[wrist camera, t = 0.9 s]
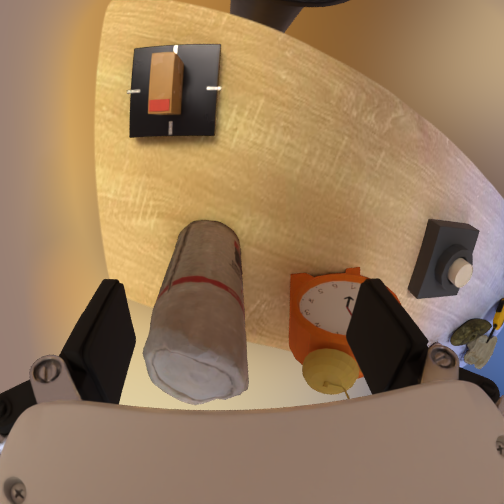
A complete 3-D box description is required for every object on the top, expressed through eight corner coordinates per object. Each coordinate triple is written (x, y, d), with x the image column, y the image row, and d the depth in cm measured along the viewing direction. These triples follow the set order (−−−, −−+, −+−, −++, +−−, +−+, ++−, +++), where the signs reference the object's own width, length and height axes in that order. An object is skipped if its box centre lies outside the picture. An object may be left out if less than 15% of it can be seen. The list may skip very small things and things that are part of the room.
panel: (137, 53, 24) (130, 48, 22) (224, 49, 25) (224, 43, 23) (133, 136, 28) (125, 138, 26) (218, 134, 29) (218, 136, 27)
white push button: (452, 257, 34) (460, 264, 32) (468, 257, 34) (476, 263, 33) (443, 281, 36) (451, 288, 34) (459, 280, 36) (467, 287, 34)
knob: (164, 64, 23) (151, 52, 18) (184, 63, 23) (174, 50, 18) (161, 114, 26) (147, 113, 20) (180, 114, 26) (170, 112, 21)
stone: (460, 365, 51) (483, 330, 48) (453, 358, 53) (476, 324, 51) (482, 370, 54) (502, 340, 51) (476, 365, 57) (496, 335, 54)
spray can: (227, 288, 38) (233, 421, 20) (167, 268, 36) (130, 398, 18) (252, 232, 35) (281, 355, 17) (187, 209, 33) (147, 320, 15)
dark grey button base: (428, 218, 36) (448, 231, 32) (468, 223, 37) (487, 235, 33) (407, 288, 41) (423, 306, 37) (447, 286, 42) (463, 301, 38)
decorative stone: (446, 345, 50) (455, 357, 47) (447, 333, 48) (457, 345, 45) (483, 318, 49) (492, 328, 45) (485, 305, 47) (495, 315, 43)
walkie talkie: (501, 293, 48) (482, 333, 42) (508, 294, 46) (489, 334, 41) (502, 310, 48) (482, 350, 43) (508, 310, 46) (489, 352, 41)
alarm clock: (370, 262, 38) (450, 361, 20) (364, 298, 41) (428, 399, 23) (278, 271, 37) (320, 398, 20) (278, 308, 40) (311, 433, 22)
